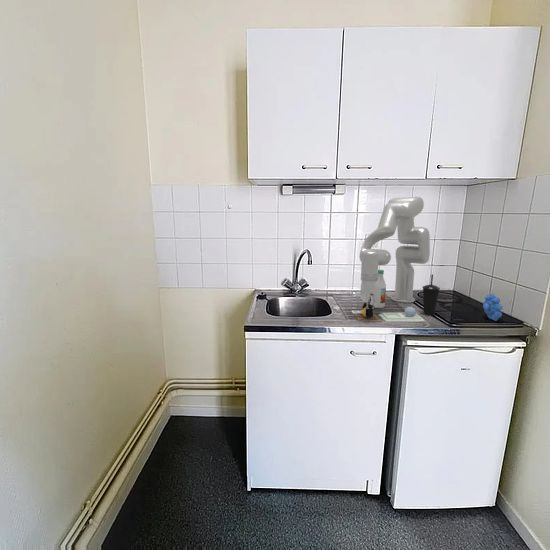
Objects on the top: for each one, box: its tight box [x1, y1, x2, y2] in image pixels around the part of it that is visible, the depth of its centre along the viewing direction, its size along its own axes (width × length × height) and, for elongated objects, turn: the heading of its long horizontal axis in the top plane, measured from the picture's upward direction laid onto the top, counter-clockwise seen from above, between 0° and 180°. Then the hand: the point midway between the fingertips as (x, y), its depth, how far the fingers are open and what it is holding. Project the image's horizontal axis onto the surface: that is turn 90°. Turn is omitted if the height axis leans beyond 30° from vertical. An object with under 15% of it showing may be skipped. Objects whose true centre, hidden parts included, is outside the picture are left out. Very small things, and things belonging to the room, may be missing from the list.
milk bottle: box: [373, 269, 387, 309], centre depth 163 cm, size 8×8×20 cm
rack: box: [378, 312, 426, 323], centre depth 145 cm, size 10×18×2 cm, turn 89°
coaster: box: [353, 313, 382, 323], centre depth 145 cm, size 10×10×1 cm
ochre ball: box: [361, 307, 368, 318], centre depth 145 cm, size 5×5×5 cm
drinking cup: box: [422, 273, 441, 317], centre depth 149 cm, size 8×8×20 cm
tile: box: [351, 310, 362, 315], centre depth 154 cm, size 4×6×1 cm, turn 89°
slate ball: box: [403, 306, 417, 317], centre depth 144 cm, size 5×5×5 cm
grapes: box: [482, 293, 503, 322], centre depth 141 cm, size 12×7×12 cm, turn 177°
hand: (367, 314), depth 145 cm, fingers closed on ochre ball, 4 cm apart
